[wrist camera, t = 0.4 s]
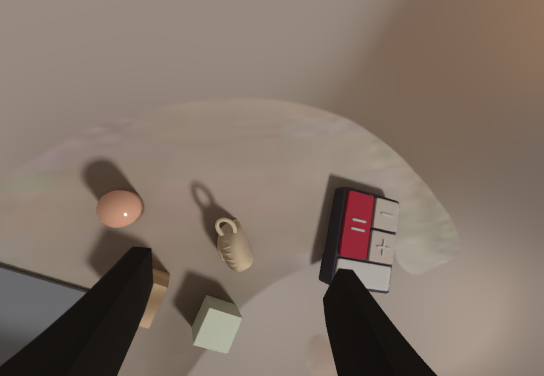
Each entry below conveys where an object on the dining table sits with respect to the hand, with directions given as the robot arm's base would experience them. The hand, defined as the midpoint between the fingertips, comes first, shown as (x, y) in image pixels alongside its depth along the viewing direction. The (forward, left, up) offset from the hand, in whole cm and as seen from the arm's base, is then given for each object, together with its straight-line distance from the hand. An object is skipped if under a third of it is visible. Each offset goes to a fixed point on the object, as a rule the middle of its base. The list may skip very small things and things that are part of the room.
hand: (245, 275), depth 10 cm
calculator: (+7, -25, -27) cm, 37 cm away
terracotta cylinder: (-2, +9, -26) cm, 28 cm away
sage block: (-11, -7, -26) cm, 30 cm away
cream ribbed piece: (-1, -5, -27) cm, 27 cm away
